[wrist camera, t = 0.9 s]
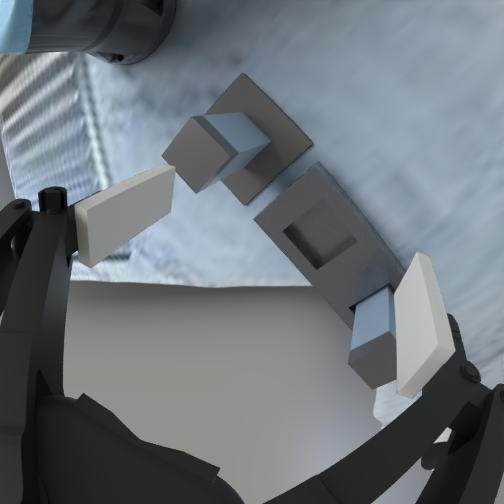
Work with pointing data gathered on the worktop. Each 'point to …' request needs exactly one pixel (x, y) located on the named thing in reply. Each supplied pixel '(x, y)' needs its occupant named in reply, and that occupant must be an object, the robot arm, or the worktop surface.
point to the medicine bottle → (435, 451)
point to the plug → (214, 148)
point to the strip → (330, 241)
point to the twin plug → (375, 338)
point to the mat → (272, 125)
